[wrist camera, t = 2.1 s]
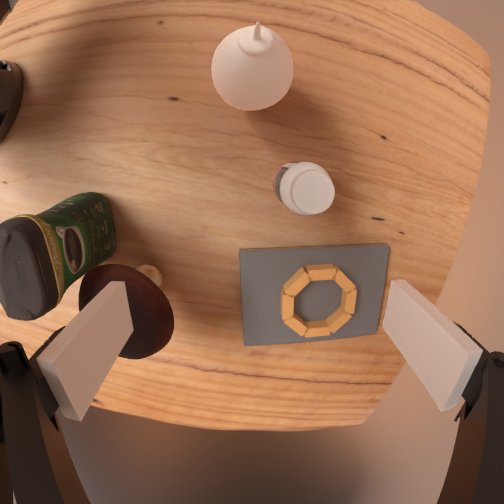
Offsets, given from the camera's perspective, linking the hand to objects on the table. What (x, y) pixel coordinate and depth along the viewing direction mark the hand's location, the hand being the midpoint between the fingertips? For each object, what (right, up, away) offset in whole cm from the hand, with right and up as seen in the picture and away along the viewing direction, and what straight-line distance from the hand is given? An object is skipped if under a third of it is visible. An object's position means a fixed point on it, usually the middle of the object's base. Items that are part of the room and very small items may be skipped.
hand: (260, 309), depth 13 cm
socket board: (+8, -3, +26) cm, 27 cm away
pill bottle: (+5, +11, +21) cm, 24 cm away
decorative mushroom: (-14, 0, +24) cm, 28 cm away
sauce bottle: (-1, +22, +17) cm, 28 cm away
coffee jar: (-22, +6, +22) cm, 32 cm away
